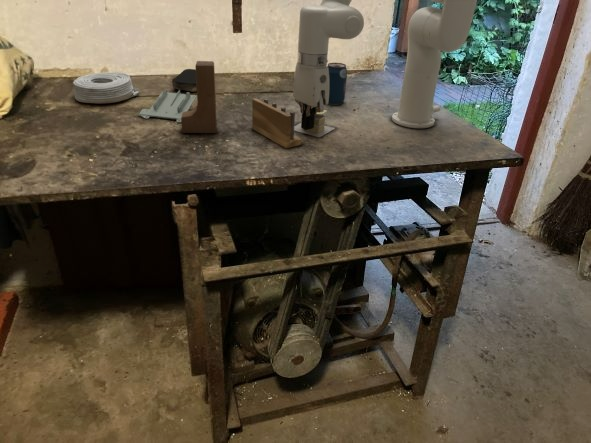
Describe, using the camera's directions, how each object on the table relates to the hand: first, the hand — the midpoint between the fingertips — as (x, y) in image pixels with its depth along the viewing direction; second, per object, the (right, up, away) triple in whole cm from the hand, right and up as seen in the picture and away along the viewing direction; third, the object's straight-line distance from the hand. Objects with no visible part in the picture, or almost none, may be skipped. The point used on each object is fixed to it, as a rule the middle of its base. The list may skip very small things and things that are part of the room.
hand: (307, 128), depth 131 cm
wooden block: (-29, -1, 0) cm, 29 cm away
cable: (-63, +13, +20) cm, 67 cm away
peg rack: (-8, -3, -1) cm, 9 cm away
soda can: (+9, +13, +27) cm, 31 cm away
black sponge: (-39, +21, +35) cm, 56 cm away
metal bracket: (-39, +7, +11) cm, 42 cm away
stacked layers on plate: (+1, +1, +5) cm, 5 cm away
